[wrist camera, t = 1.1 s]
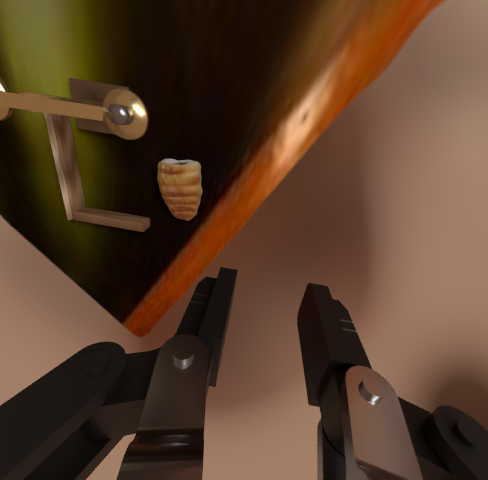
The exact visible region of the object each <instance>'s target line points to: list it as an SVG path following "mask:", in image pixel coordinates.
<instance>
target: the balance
mask: <svg viewBox="0 0 488 480" xmlns="http://www.w3.org/2000/svg"><path fill="white" fill-rule="evenodd" d="M69 80H70V86H71V92H72V98H66V97H58V96H50V95H43V94H35V93H27V92H21V93H19V94H17V93H11V92H10V91H9V89H8V87H7V86H6V84H5V83H4V81H3V80H2V79H1V78H0V121H3V120H6V119H8V118H9V117H10V116H11V114H12V111H13V108H17V109H24V110H26V111H28V112H44V113H52V114H58V115H65V116H72V117H76V122H77V127H78V129H84V130H90V131H96V132H103V133H109V134H115V135H117V136H119V137H121V138H123V139H127V140H133V139H138V138H140V137H142V136H143V135H144V134H145V133H146V131H147V129H148V126H149V113H148V110H147V107H146V105H145V103H144V102H143V100H142V99H141V98H140V97H139V96H138V95H137V94H135V93H134V92H133V88H129V87H123V86H116V85H110V84H104V83H98V82H91V81H85V80H79V79H73V78H69Z"/></svg>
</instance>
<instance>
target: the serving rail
mask: <svg viewBox="0 0 488 480" xmlns="http://www.w3.org/2000/svg"><path fill="white" fill-rule="evenodd" d="M44 116H45V120H46V124H47V129H48V133H49V138H50V142H51V147H52V151H53V156H54V160H55V165H56V169H57V173H58V178H59V182H60V187H61V191H62V196H63V200H64V205H65V209H66V214H67V218H68V220H71V219H72V220H77V221H83V222H89V223H95V224H100V225H106V226H112V227H118V228H123V229H129V230H135V231H141V232H144V231H145V230H146V229H147V228H148V227H150V218H147V217H141V216H136V215H130V214H124V213H118V212H112V211H107V210H101V209H95V208H89V207H86V206H85V200H84V195H83V189H82V184H81V178H80V173H79V167H78V162H77V156H76V151H75V145H74V140H73V134H72V128H71V123H70V117H69V116H65V115H58V114H52V113H44Z"/></svg>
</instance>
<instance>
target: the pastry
mask: <svg viewBox="0 0 488 480" xmlns="http://www.w3.org/2000/svg"><path fill="white" fill-rule="evenodd" d="M200 170H201V165H200V163H199V162H197V161H192V160H180V161H177V160H175V159H164V160H162V161H161V162H159V163H158V177H157V181H158V184H159V188H160V192H161V194H162V198H163V199H164V201H165V204H166V205H167V206H168V208H169V210H170V212H171V213H172V215H173V216H175V217H176V218H179V219H183V220H186V221H189V220H191V219H192V218H193V217H194V216H195V215H196V214H197V210H198V206H199V204H200V198H201V195H202V187H201V171H200Z"/></svg>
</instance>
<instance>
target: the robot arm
mask: <svg viewBox="0 0 488 480" xmlns="http://www.w3.org/2000/svg"><path fill="white" fill-rule="evenodd" d="M237 271H238V270H234V269H229V268H223V267H221V268H220V271H219V274H218V277H217V278H210V277H205V278H204V279H203V280H202V281H201V282H199V283H198V285H197V287H196V289H195V291H194V294H193V296H192V298H191V301H190V303H189V305H188V307H187V309H186V312H185V314H184V316H183V318H182V321H181V323H180V325H179V327H178V330H177V332H176V334H175V335H174V337H172V338H171V339H169V340H168V341H166V342H165V343H164V344H163V346H162V347H160V348H158V349H155V350H152V351H147V352H139V353H130V354H126V353H125V351H124V349H123V348H122V347H121V346H120V345H119V344H117V343H114V342H99V343H95V344H92V345H89V346H87V347H85V348H84V349H82V350H80V351H79V352H77V353H76V354H74V355H73V356H71V357H70V358H69V359H67V360H66V361H64V362H63V363H61V364H60V365H59V366H57V367H56V368H54V369H53V370H51V371H50V372H48V373H47V374H45V375H44V376H43V377H41V378H40V379H38V380H37V381H35V382H34V383H32V384H31V385H30V386H28V387H27V388H25V389H24V390H23V391H21V392H19V393H18V394H17V395H15V396H14V397H12V398H11V399H9V400H8V401H7V402H5V403H3V404H2V405H1V406H0V480H86V478H88V476H89V475H90V474H91V473H92V472H93V471H94V470H95V468H96V467H97V466H98V465H99V464H100V463H101V462H102V460H103V459H104V458H105V457H106V456H107V455H108V454H109V453H110V451H111V450H112V449H113V448H114V447H115V446H116V445H117V443H118V442H119V441H120V440H121V439H122V438H123V437H124V436H125V435H130V434H135V433H136V435H135V438H134V440H133V441H132V442H131V443H130V444H129V446H128V448H127V450H126V453H125V455H124V458H123V460H122V463H121V467H120V470H119V474H118V477H117V480H202V472H203V452H204V420H205V403H206V397H207V392H208V388H209V386H213V387H215V386H216V382H217V376H218V372H219V367H220V362H221V357H222V352H223V347H224V343H225V338H226V332H227V328H228V323H229V318H230V313H231V308H232V303H233V297H234V290H235V284H236V278H237ZM297 324H298V332H299V339H300V346H301V353H302V360H303V367H304V375H305V381H306V388H307V396H308V403H309V405H312V406H318V407H320V412H321V419H320V421H319V423H318V430H317V435H318V436H317V442H318V444H317V458H318V459H317V460H318V461H317V464H318V465H317V466H318V467H317V468H318V480H488V431H487V430H486V429H485V428H484V427H483V426H481V425H480V424H479V423H478V422H477V421H476V420H474V419H473V418H472V417H470V416H469V415H468V414H466V413H464V412H462V411H461V410H459V409H456V408H454V407H451V406H439V407H437V408H436V409H435V410H434V411H433V412H432V413H430V412H428V411H426V410H424V409H422V408H420V407H418V406H415V405H413V404H412V403H409V402H407V401H405V400H403V399H401V398H400V397H398V396H397V394H396V392H395V390H394V389H393V387H392V386H391V385H390V384H389V382H388V381H387V380H386V379H385V378H384V377H382V376H381V375H380V374H379V373H377V372H376V371H374V370H372V368H371V366H370V363H369V360H368V358H367V356H366V353H365V351H364V348H363V346H362V343H361V341H360V339H359V337H358V334H357V333H356V329H355V327H354V324H353V323H352V320H351V317H350V315H349V313H348V310H347V309H346V308H345V307H344V306H343V305H342V304H341V302H340V301H339V300H334V299H332V296H331V294H330V291H329V288H328V287H327V286H324V285H318V284H313V283H309V284H308V285H307V287H306V290H305V293H304V296H303V299H302V302H301V305H300V308H299V311H298V318H297Z"/></svg>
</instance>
